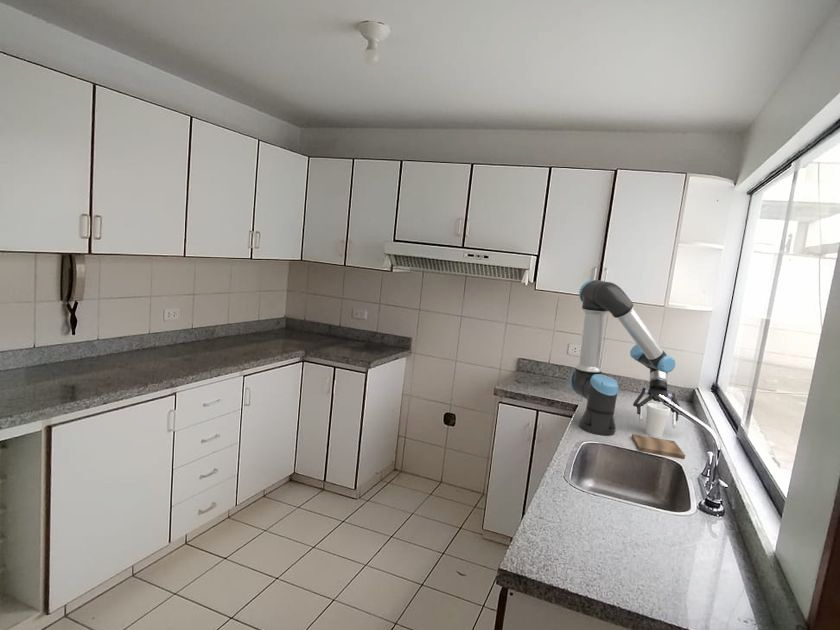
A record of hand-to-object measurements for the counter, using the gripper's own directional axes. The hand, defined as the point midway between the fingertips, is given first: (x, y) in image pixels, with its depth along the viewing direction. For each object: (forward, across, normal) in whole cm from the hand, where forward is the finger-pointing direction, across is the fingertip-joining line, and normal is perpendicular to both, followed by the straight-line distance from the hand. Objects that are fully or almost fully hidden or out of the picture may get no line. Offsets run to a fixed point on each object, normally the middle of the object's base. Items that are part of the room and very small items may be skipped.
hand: (657, 423), depth 226 cm
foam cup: (+3, 0, -5) cm, 6 cm away
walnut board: (+15, +1, +7) cm, 17 cm away
